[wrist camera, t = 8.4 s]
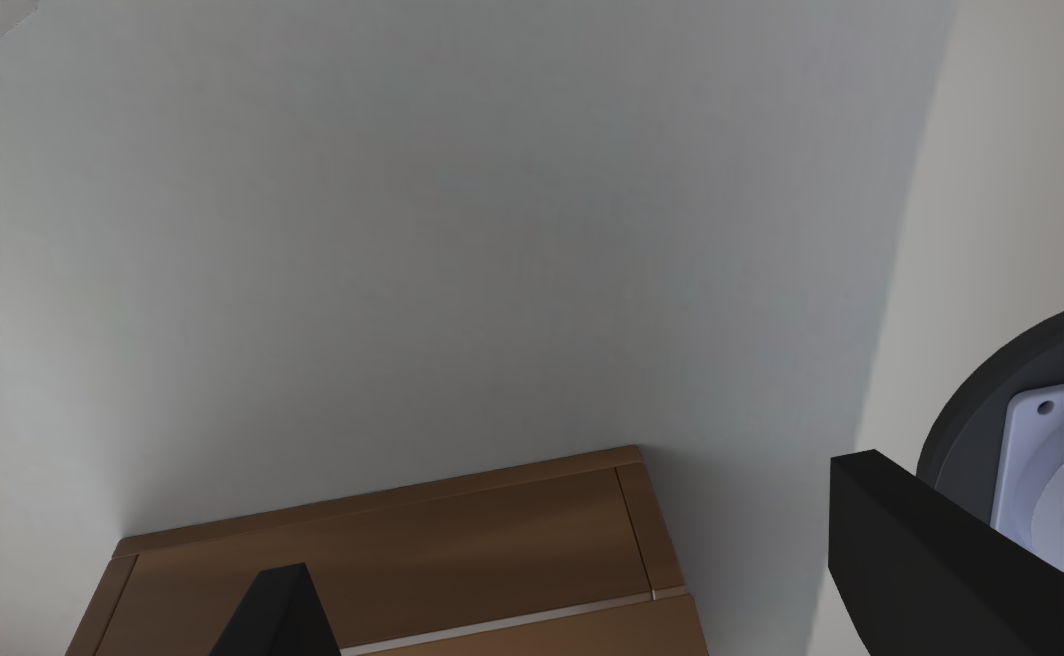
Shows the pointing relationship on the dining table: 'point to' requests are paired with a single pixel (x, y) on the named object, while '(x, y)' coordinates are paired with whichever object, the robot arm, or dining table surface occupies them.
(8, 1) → the slotted wedge
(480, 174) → the dining table surface
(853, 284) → the dining table surface
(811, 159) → the dining table surface
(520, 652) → the brown box
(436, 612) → the wooden tray
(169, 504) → the dining table surface
